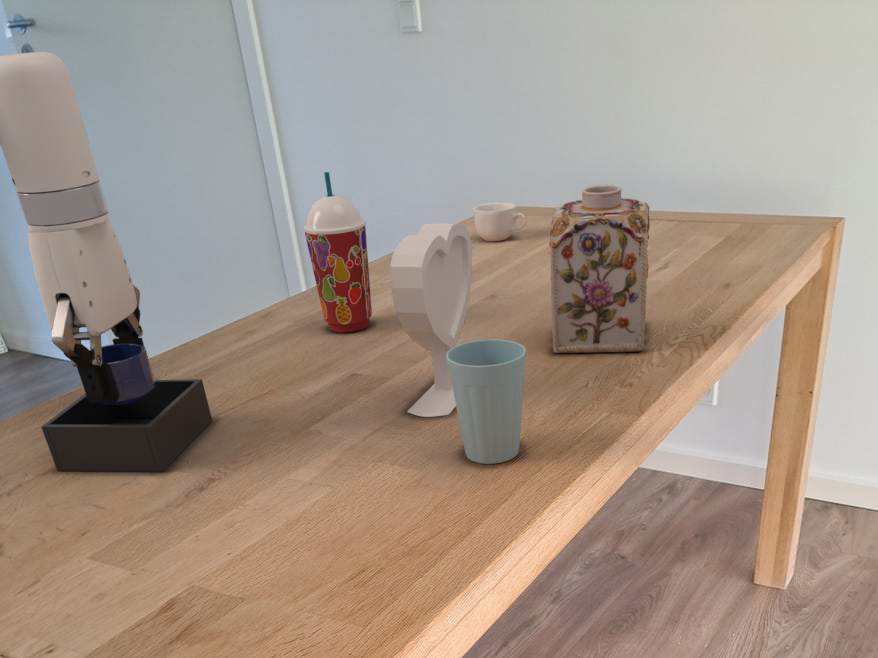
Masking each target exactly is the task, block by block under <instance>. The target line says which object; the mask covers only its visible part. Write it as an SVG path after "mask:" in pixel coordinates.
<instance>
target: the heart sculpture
mask: <svg viewBox="0 0 878 658" xmlns="http://www.w3.org/2000/svg"><path fill="white" fill-rule="evenodd" d="M470 233H471V232H470V229H469V228H468V227H467V225H465V224H464V223H439V222H438V223H437V222H436V223H430V222H429V223H425V224H422V225H421V226H420V229H419V230H418V233H417V234H407V235H405V236H404V237H403V238H402V239H401V241H400V242H399V243H398V244H397V246H396V248H395V249H394V252H393V253H392V256H391V260H390V265H389V278H390V289H391V295H392V301H393V305H394V310H395V314H396V316H397V319H398V321H399V323H400V326H401V328H402V330H403V332H404V333H405V334H406V335H407V336H408V337H409V339H410V340H411V341H412V342H415V344H417V345H419V346H420V347H422V348H423V349H425V350H426V351H427V352H428V351H429V352H430V351H431V359H432V360H431V362H432V370H433V380H434V383H433V384H432V385H431V387H429V388H428V389H427V390H426V391H425V393H423V395H422V396H421V397H420V398H419V399H418V400H417V401H416V402H415V403H414V404H413V405H412V406H411V407H410V408H409V409H408V410H407V413H409V414H411V415H414V416H418V417H423V418H430V417H431V418H433V417H443V416H448V415H450V414H451V413H452V411H453V410H454V409H455V408H457V407H456V402H455V397H454V392H453V387H452V382H451V378H450V375H449V370H448V365H447V360H446V354H447V352H448V351H449V350H450V349H451V348H453V347H455V346H457V345H459V340H460V337H461V334H462V330H463V327H464V324H465V320H466V316H467V312H468V308H469V303H470V297H471V288H472V279H473V250H472V241H471V234H470Z"/></svg>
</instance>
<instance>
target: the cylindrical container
mask: <svg viewBox="0 0 878 658" xmlns="http://www.w3.org/2000/svg"><path fill="white" fill-rule="evenodd" d="M102 363H108V366H109V369H110V372H111V375H112V378H113V382H114V385H115V388H116V391H117V394H118V398H119V399H118V400H117V401H116V402H115V403H100V404H104V405H121V404H127V403H131V402H135V401H137V400H140V399H142V398H144V397H146V396H147V395H149V394H150V392H151V391H152V390H153V389H154V388H155V384H156V383H155V380H156V379H155V377H154V373H153V370H152V366H151V362H150V359H149V356H148V353H147V349H146V346H145V345H144V346H142V345H141V344H135V343H119V344H107V345H103V346H102Z"/></svg>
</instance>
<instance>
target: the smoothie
mask: <svg viewBox="0 0 878 658" xmlns="http://www.w3.org/2000/svg"><path fill="white" fill-rule="evenodd" d="M323 173H324V174H323V175H324V180H325V186H326V195H324V196H322V197H320V198H318V199H317V200H315V202H314V203H313V204H311V207H310V208H309V209H308V212H307V215H306V219H305V224H304V226H303V227H302V229H303V231H304V236H305V240H306V246H307V249H308V254H309V258H310V263H311V267H312V271H313V276H314V280H315V284H316V289H317V293H318V298H319V302H320V306H321V311H322V315H323V320H324V322H325V323H327V324H328V327H329V329H330V330H331V331H333V332H336V333H342V334H343V333H344V334H345V333H355V332H359V331H362V330H364V329H366V328H367V327H368V326H369V325H370V318H372V315H373V310H372V309H373V308H372V296H371V283H370V267H369V256H368V243H367V241H368V240H367V230H366V220H365V219H364V218H363V217H362V215H361V213H360V211H359V209H358V208H357V207H356V206H355V204H354V203H352V201H351V200H349V199H348V198H346V197H344V196H341V195H337V194H333V190H332V182H331V177H330V172H329V171H326V172H323Z"/></svg>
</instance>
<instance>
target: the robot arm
mask: <svg viewBox="0 0 878 658" xmlns="http://www.w3.org/2000/svg"><path fill="white" fill-rule="evenodd" d="M75 92H76V91H75V89H74V86H73V83H72V79H71V77H70V72H69V69H68V68H67V65H66V64H65V62H64V61H63V60H62V58H60V57H59V56H58V55H57V54H55V53H53V52H47V51H35V52H32V51H31V52H20V53H19V52H18V53H10V54H2V55H0V147H1V151H2V154H3V157H4V159H5V162H6V165H7V168H8V169H7V170H8V171H9V175H10V177H11V181H12V183H13V186H14V189H15V191H16V195H17V198H18V201H19V204H20V207H21V210H22V213H23V216H24V219H25V221H26V224H27V227H28V230H29V231H28V232H27V240H28V248H29V253H30V259H31V263H32V269H33V273H34V276H35V281H36V284H37V289H38V292H39V295H40V298H41V301H42V306H43V309H44V312H45V315H46V318H47V321H48V324H49V327H50V330H51V342H52V343H53V345H54V346H55V347H57V348H58V349H59V350H60V351H61V352H62V353H63V355H64V356H65V357H66V358H67V359H69V360H70V363H71V365H72V366H73V367H76V369H77V372H78V375H79V378H80V380H81V385H82V386H83V387H82V388H83V390H84V394H85V393H86V396H87V399H88V401H89V402H91V403H115V402H116V401H117V400H118V399H119V398H118V394H117V391H116V388H115V385H114V382H113V378H112V375H111V372H110V369H109V366H108V363H102V335H103V334H105V333H106V332H108V331H111V332H112V333H113V335H114V336H115V338H113V339H112V343H113V344H119V343H135V344H141V345H142V346H144V347H145V343H144V340H143V337H142V336H143V334H144V331H143V327H142V326H141V324H140V321H141V310H140V301H141V292H140V289H139V288H137V287H136V286H135V285H134V284H133V280H132V277H131V273H130V269H129V266H128V263H127V260H126V258H125V255H124V252H123V249H122V246H121V244H120V241H119V239H118V236H117V234H116V230H115V228H114V225H113V224H112V222H111V215H110V212H109V208H108V204H107V201H106V197H105V194H104V190H103V187H102V183H101V180H100V176H99V172H98V170H97V165H96V162H95V159H94V155H93V152H92V148H91V144H90V142H89V138H88V134H87V132H86V128H85V125H84V122H83V117H82V114H81V111H80V107H79V104H78V103H79V102H78V100H77V97H76V93H75ZM81 328H86V331H80V329H81ZM82 341H89V349H88V348H87V347H86V346H85V345H84V344H82Z"/></svg>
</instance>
